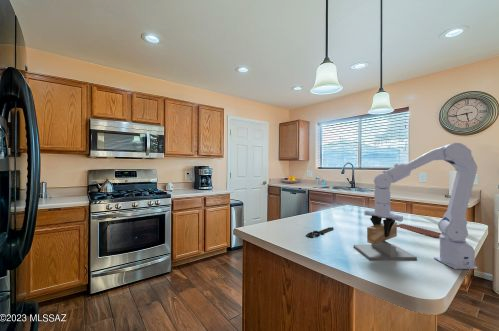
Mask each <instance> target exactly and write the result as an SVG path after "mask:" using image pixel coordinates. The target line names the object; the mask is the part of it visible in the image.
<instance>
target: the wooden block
mask: <svg viewBox="0 0 499 331" xmlns="http://www.w3.org/2000/svg"><path fill="white" fill-rule="evenodd" d="M397 223H398V221H395V223H394V224H393V226H392V228H391V231H390V234H389V237H385V229H384V223H383V222H381V224H377V225H370V226H367V228H366V233H367V234H366V238H367V239H366V242H367V243H368V244H370V245H371V244H377V243H380V242H382V241H388V240H391V239H393V238H396V237H397V236H398V227H397V225H398V224H397Z"/></svg>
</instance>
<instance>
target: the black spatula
mask: <svg viewBox="0 0 499 331" xmlns="http://www.w3.org/2000/svg"><path fill="white" fill-rule="evenodd" d="M333 230H335V228H334V227H333V226H331V227H327V228H324V229H321V230H313V231H310V232H308V233H307V234H305V237H306V238H310V239H314V237H316V238H318V237H320V236H321V235H323V236H325V233H328V232H331V231H333Z"/></svg>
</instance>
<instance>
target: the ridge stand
mask: <svg viewBox="0 0 499 331" xmlns="http://www.w3.org/2000/svg"><path fill="white" fill-rule="evenodd" d="M353 248H355V250H357V251H358V252H359V253H360V254H362V255H363V256H364V257H366V258H367V259H368V260H369V261H388V260H389V261H394V260H395V261H401V260H402V261H404V260H405V261H408V260H409V261H411V260H413V261H414V260H415V261H416V260H417V261H418V256H416V255H414V254H412V253H410V252H409V251H406V250H405V249H403V248H401V247H399V246H397V245H396V244H393V243H390V242H388V241H387V240H385V241H382V242H380V243H377V244H371V243H370V244H353Z"/></svg>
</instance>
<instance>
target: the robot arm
mask: <svg viewBox="0 0 499 331" xmlns="http://www.w3.org/2000/svg"><path fill="white" fill-rule="evenodd" d="M433 161H445V162H446V163H449V164H450V165H451V166H452V167H453V168H454V169H455V170H456V173H455V177H454V182H453V186H452V190H451V193H450V198H449V201H448V206H447V209H446V211H445V213H444V214H443V216H442V218H441V219H440V220H439V221H438V226H437V227H438V230H439V231H440V233H441V234H440V238H439V256H433V259H434V260H436V261H438V262H440V263H442V264H444V265H446V266H448V267H450V268H452V269H454V270H477V269H478V267H477V266H476V265H475V264H476V259H475V258H476V257H475V255H476V254H475V252H476V251H475V248H474V247H473V246H472V245H470V244H469V243H467V241H466V239H467V237H468V235H469V232H468V229H467V224H468V222H467V217H466V214H467V211H468V206H469V203H470V198H471V196H472V191H473V187H474V182H475V178H476V175H477V172H478V165H477V163H476V160H475V159H474V157H473V155H472V150H471V149H470V148H469V147H468V146H466V144H463V143H461V142H452V143H449V144H445V145H442V146H441V147H438V148H434V149H431V150H429V151H428V152H425V153H424V154H422V155H420V156H418V157H417V158H414V159H413V160H411V161H409V162H408V163H403V162H400V163H395V164H393V167H391V168H388V169H387V170H382V173H378V174H377V175H375V177H374V179H373V183H374V185H375V186H374V193H373V194H374V210H363V211H364V216H369V217H370V222H371V223H372V226H374V225H377V224H381V223H384V229H385V237H389V234H390V231H391V228H392V226H393V224H394V223H395V222H400V223H401V222H403V221H404V216H403V215H400V214H399V215H398V214H394V213H391V212H392V210H391V191H390V188H391V184H395V183H397V182H399V181H401V180H403V179H405V178H407V177H409V176H410V175H411V172H412V171H414V170H416V169H418V168H420V167H422V166H425V165H426V164H428V163H431V162H433ZM382 219H383V220H382Z"/></svg>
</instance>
